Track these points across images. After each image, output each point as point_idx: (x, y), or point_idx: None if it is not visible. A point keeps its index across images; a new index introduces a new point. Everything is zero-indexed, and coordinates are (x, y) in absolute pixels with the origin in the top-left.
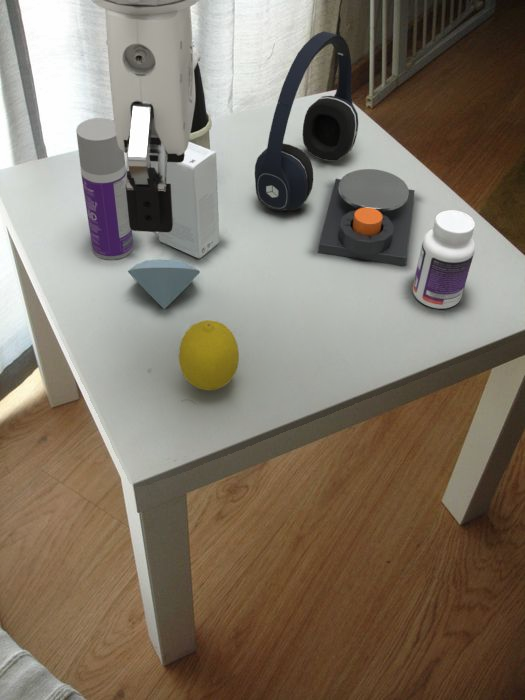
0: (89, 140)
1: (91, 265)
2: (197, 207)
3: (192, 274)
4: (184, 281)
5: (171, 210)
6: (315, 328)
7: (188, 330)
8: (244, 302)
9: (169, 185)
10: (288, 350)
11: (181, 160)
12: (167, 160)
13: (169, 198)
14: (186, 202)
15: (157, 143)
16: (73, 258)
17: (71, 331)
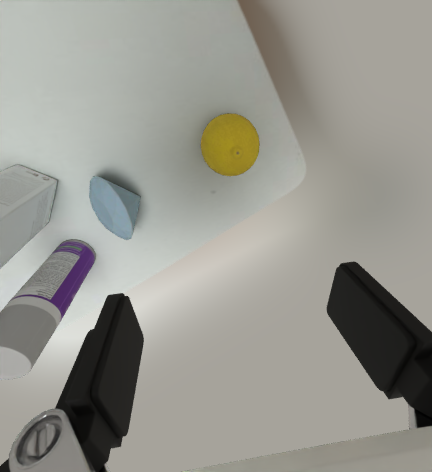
0: (31, 362)
1: (107, 261)
2: (17, 204)
3: (110, 183)
4: (120, 188)
5: (379, 289)
6: (118, 20)
7: (230, 172)
8: (104, 120)
9: (428, 342)
10: (163, 58)
11: (127, 297)
12: (133, 316)
13: (412, 316)
14: (17, 218)
15: (132, 362)
16: (104, 275)
17: (183, 253)
